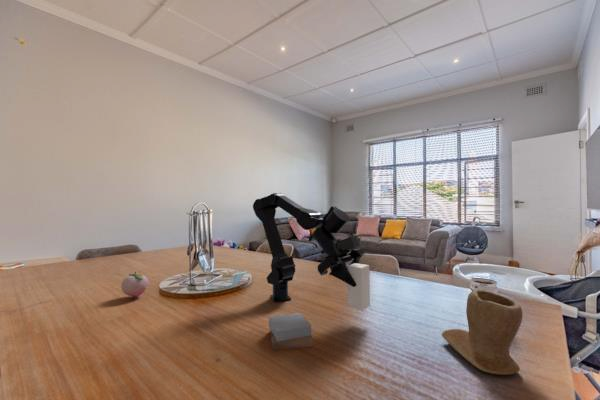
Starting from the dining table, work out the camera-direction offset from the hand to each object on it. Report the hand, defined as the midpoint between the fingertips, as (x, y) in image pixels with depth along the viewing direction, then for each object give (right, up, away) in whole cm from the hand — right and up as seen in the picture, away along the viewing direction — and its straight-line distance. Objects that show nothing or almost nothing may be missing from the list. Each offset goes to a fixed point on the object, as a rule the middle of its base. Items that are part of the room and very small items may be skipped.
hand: (359, 284), depth 80 cm
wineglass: (+37, -11, 0) cm, 38 cm away
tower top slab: (-20, -10, -7) cm, 24 cm away
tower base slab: (-20, -13, -8) cm, 25 cm away
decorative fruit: (-81, -13, +25) cm, 86 cm away
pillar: (0, -7, 0) cm, 7 cm away
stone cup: (+24, -11, -18) cm, 32 cm away
